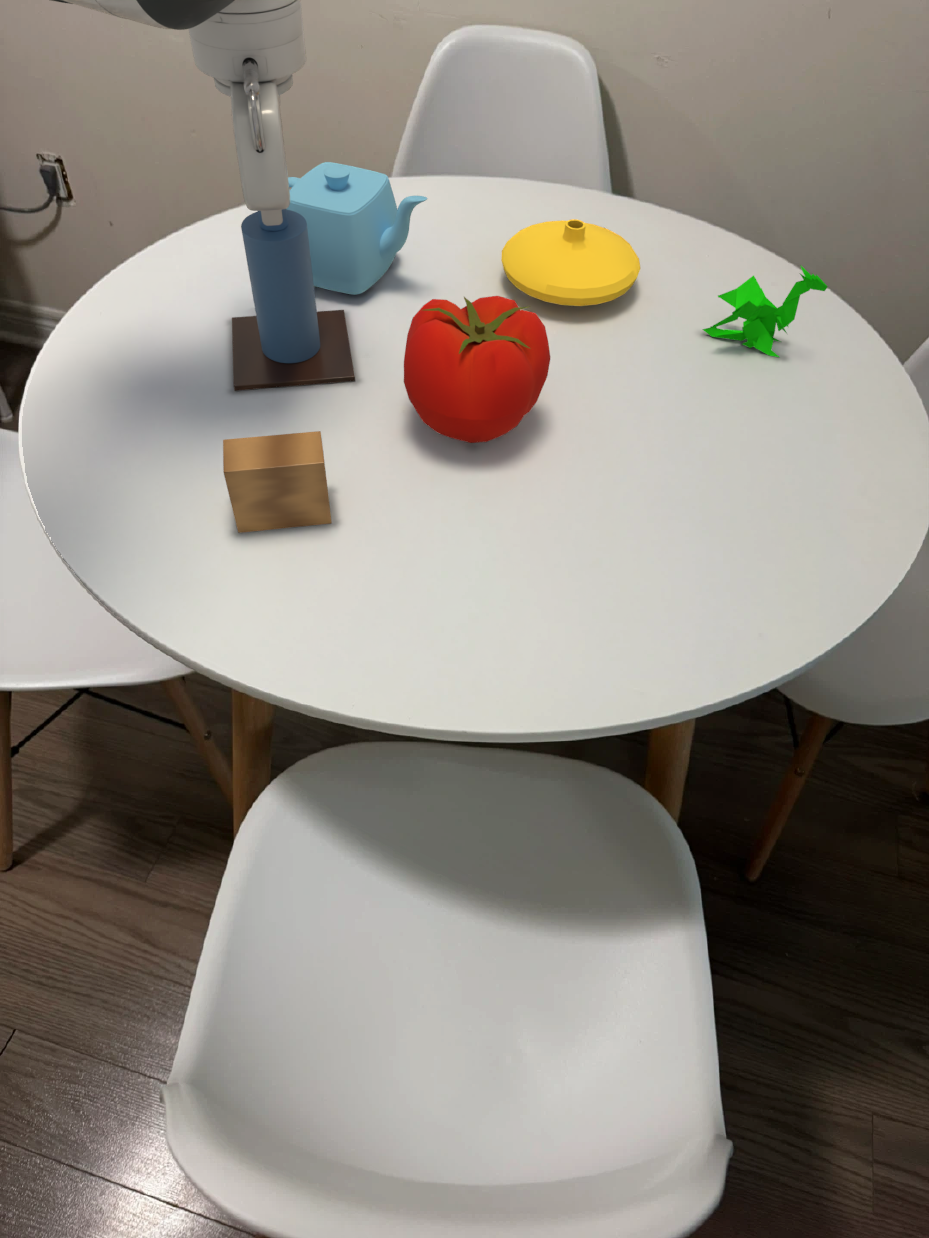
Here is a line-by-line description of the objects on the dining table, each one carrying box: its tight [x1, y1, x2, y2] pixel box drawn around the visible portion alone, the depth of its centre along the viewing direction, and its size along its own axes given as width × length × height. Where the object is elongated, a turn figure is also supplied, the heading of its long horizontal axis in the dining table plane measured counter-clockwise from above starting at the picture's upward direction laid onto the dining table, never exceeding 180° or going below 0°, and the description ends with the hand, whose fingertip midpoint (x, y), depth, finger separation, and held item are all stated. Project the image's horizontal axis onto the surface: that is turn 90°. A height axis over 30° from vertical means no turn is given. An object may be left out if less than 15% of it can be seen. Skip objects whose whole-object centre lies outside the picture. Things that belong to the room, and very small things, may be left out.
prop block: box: [222, 430, 332, 534], centre depth 74 cm, size 8×4×7 cm, turn 100°
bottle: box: [240, 209, 320, 363], centre depth 84 cm, size 6×13×18 cm, turn 10°
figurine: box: [702, 264, 828, 358], centre depth 92 cm, size 6×12×9 cm, turn 73°
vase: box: [500, 218, 641, 307], centre depth 99 cm, size 16×16×7 cm
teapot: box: [286, 161, 428, 296], centre depth 97 cm, size 12×18×12 cm
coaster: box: [231, 309, 356, 392], centre depth 91 cm, size 12×12×1 cm
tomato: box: [403, 295, 551, 444], centre depth 81 cm, size 13×14×12 cm
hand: (271, 210), depth 80 cm, fingers closed on bottle, 2 cm apart
